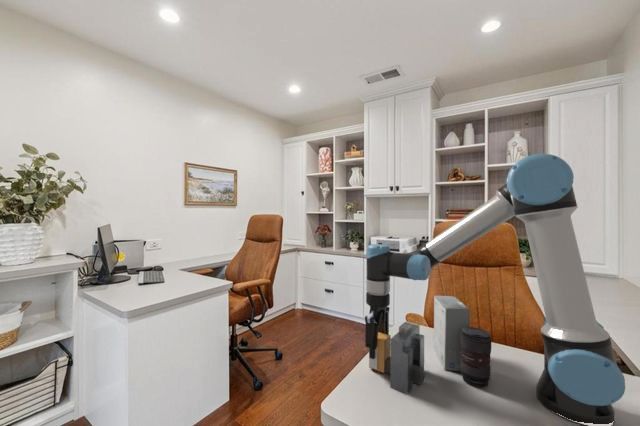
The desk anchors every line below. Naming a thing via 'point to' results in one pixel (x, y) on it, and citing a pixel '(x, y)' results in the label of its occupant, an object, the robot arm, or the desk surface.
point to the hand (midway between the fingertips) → (377, 363)
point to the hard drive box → (449, 330)
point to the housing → (405, 356)
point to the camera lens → (475, 356)
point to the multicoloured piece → (385, 358)
